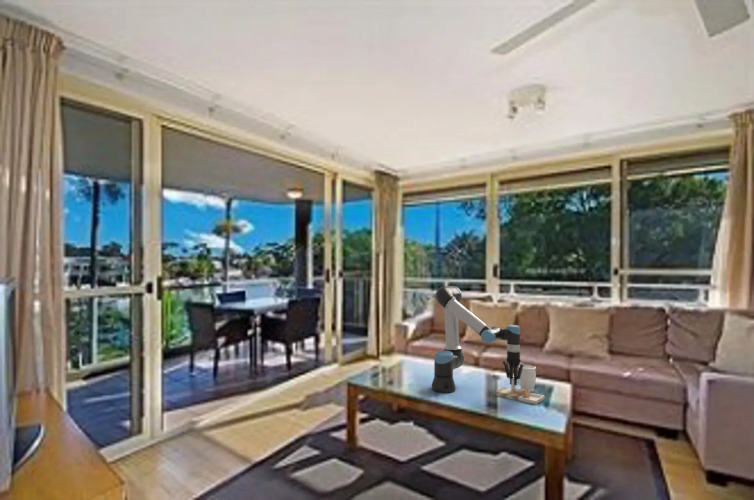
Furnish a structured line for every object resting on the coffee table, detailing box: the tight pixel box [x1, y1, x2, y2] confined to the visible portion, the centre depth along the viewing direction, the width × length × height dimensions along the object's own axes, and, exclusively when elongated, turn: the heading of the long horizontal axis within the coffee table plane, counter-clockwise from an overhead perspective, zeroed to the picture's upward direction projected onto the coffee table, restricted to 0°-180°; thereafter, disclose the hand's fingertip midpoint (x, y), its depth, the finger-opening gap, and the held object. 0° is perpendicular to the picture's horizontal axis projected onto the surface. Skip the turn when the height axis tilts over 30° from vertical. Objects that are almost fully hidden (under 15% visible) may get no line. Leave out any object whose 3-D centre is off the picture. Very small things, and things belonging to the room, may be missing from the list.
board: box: [495, 386, 523, 401], centre depth 268 cm, size 14×12×2 cm
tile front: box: [522, 389, 530, 398], centre depth 262 cm, size 4×4×2 cm
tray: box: [517, 392, 546, 406], centre depth 260 cm, size 10×14×2 cm
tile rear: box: [513, 388, 523, 395], centre depth 265 cm, size 4×4×2 cm
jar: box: [518, 364, 537, 393], centre depth 280 cm, size 11×10×15 cm
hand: (513, 390), depth 267 cm, fingers closed
